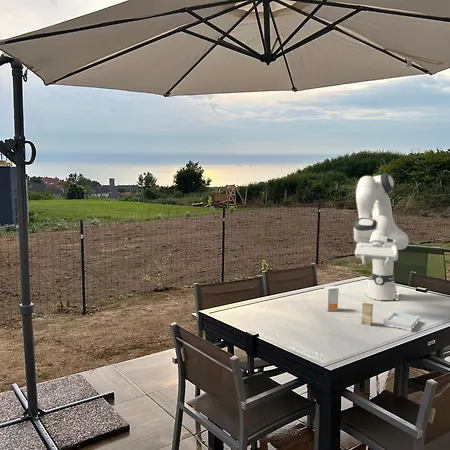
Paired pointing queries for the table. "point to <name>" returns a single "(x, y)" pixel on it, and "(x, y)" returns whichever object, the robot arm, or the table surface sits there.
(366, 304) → the birch block
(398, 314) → the tray
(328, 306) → the skincare box
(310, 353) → the table surface
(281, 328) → the table surface
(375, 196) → the robot arm
